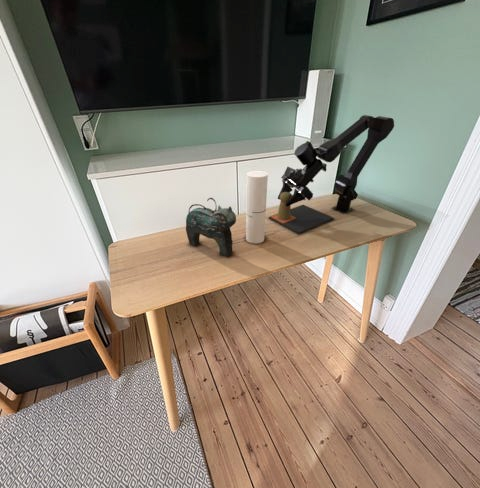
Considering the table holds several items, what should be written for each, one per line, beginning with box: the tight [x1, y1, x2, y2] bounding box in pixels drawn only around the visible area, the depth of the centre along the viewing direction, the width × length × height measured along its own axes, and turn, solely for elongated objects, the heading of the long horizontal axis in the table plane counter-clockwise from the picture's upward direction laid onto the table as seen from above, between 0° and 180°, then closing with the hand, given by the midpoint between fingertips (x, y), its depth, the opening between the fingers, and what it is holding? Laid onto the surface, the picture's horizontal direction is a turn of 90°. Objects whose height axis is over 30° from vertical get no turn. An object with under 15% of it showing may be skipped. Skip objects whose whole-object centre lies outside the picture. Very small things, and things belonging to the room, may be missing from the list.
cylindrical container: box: [245, 170, 269, 244], centre depth 93 cm, size 7×7×25 cm
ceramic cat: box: [185, 197, 237, 258], centre depth 89 cm, size 20×6×20 cm, turn 59°
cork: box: [277, 192, 293, 220], centre depth 110 cm, size 6×6×11 cm
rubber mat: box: [268, 204, 334, 235], centre depth 114 cm, size 22×18×1 cm
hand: (282, 202), depth 109 cm, fingers open, 7 cm apart
